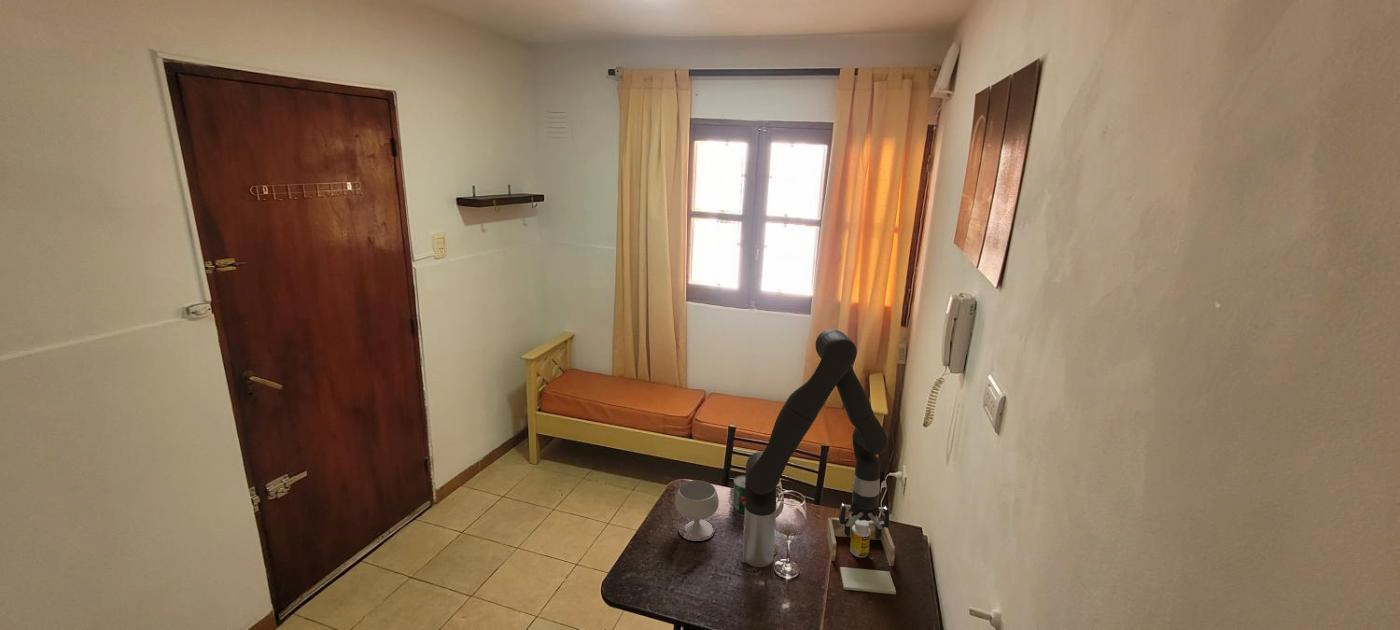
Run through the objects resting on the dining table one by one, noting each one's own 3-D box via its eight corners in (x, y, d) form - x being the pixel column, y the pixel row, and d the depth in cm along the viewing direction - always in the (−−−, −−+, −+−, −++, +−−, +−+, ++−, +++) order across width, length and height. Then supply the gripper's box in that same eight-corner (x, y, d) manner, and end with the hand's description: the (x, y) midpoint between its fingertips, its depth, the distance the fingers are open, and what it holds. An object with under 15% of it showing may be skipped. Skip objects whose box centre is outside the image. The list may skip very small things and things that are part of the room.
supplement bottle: (860, 560, 157) (863, 531, 155) (846, 550, 162) (848, 521, 160) (872, 554, 160) (875, 524, 158) (858, 544, 165) (860, 515, 163)
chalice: (718, 545, 163) (719, 502, 160) (673, 544, 163) (673, 501, 160) (717, 518, 177) (718, 478, 174) (676, 517, 177) (676, 477, 174)
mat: (844, 589, 146) (844, 586, 146) (839, 569, 154) (840, 566, 154) (895, 594, 144) (896, 591, 144) (889, 573, 152) (889, 571, 152)
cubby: (831, 560, 157) (832, 543, 156) (826, 533, 170) (827, 517, 169) (893, 566, 155) (895, 548, 154) (883, 538, 168) (885, 521, 167)
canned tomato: (740, 500, 187) (741, 472, 185) (759, 508, 183) (761, 480, 180) (728, 511, 181) (729, 482, 179) (748, 519, 177) (749, 490, 174)
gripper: (843, 494, 153) (840, 542, 157) (893, 497, 151) (889, 546, 155) (839, 480, 160) (836, 527, 164) (888, 483, 159) (883, 530, 162)
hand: (862, 536), depth 160 cm, fingers open, 8 cm apart
